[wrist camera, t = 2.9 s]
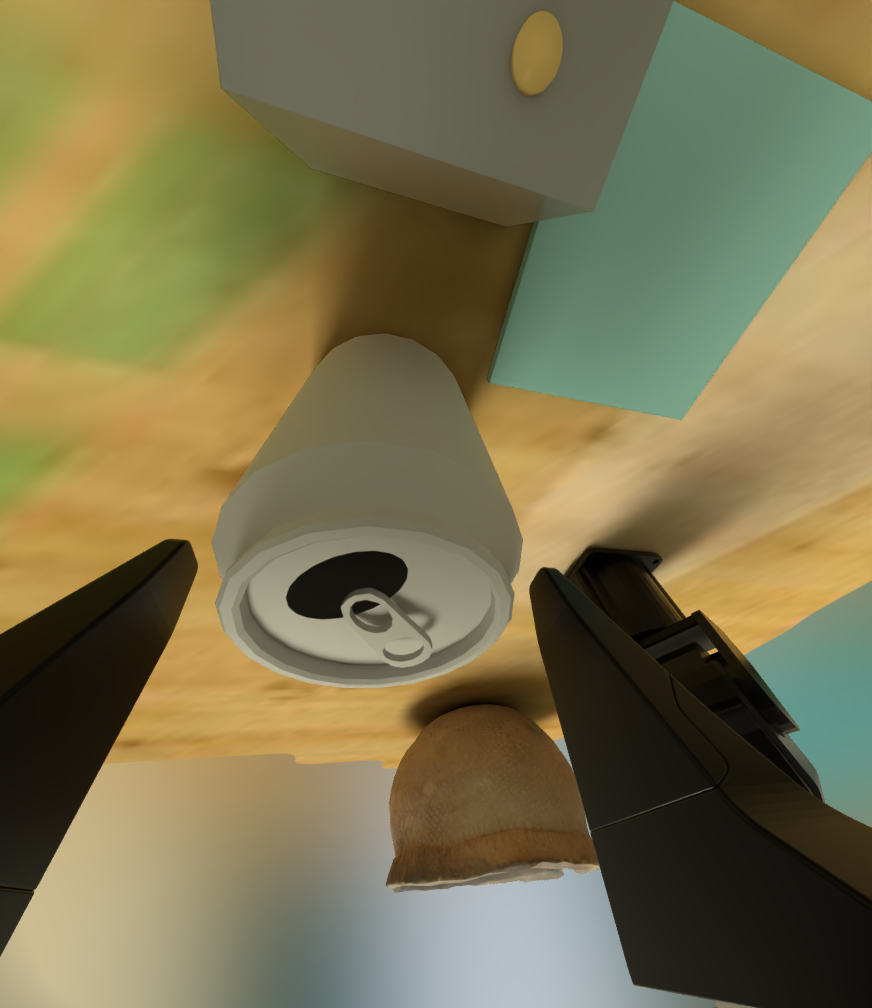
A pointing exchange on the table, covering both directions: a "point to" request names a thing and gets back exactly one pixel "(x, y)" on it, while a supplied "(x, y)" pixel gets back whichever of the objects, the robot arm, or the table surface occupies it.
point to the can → (369, 527)
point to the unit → (446, 93)
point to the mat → (682, 224)
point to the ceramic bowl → (485, 805)
